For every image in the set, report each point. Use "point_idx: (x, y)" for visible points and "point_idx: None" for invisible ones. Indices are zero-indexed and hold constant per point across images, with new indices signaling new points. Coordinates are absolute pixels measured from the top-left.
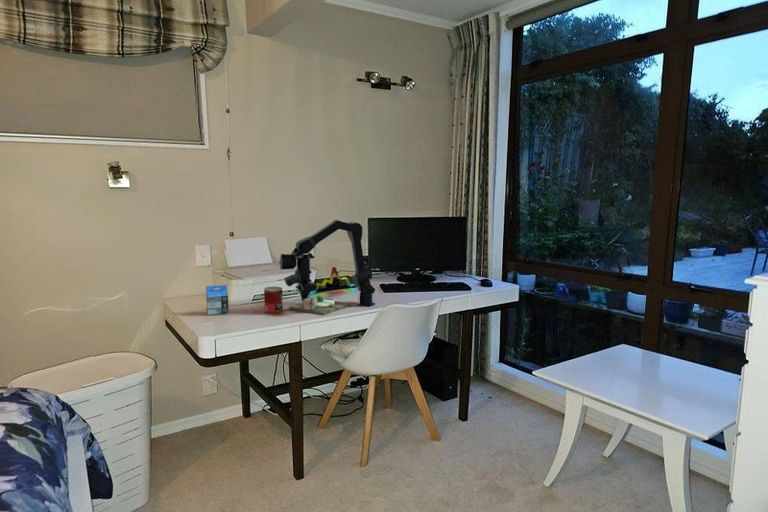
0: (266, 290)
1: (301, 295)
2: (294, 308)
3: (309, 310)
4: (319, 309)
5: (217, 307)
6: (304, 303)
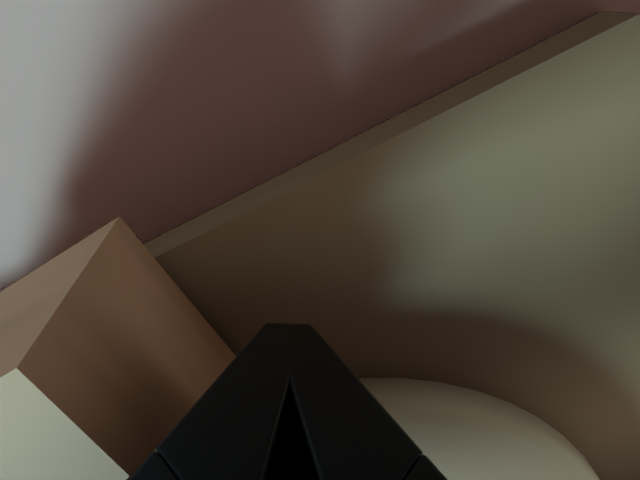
0: None
1: (260, 452)
2: (462, 93)
3: None
4: None
5: None
6: (41, 304)
